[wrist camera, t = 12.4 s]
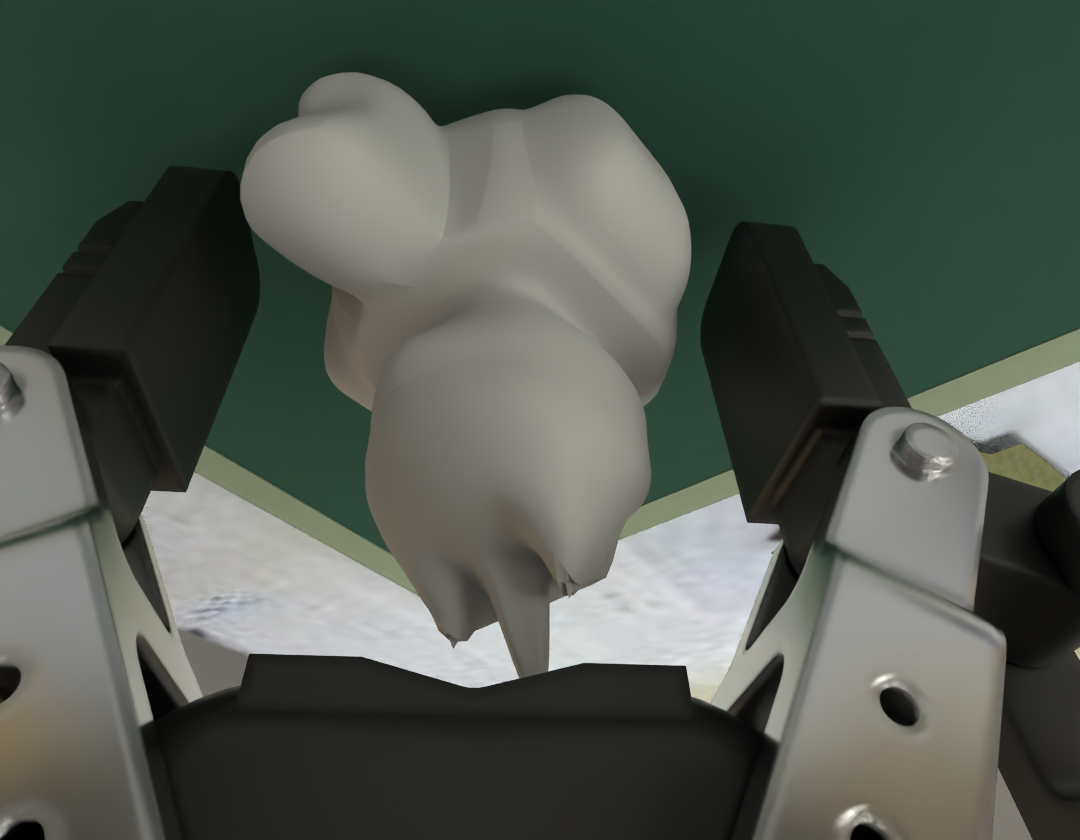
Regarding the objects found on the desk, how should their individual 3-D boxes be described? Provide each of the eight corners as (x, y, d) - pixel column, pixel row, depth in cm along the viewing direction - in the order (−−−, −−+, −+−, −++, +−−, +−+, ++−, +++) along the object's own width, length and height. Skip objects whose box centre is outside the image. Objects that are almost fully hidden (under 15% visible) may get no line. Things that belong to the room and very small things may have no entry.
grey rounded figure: (507, 383, 14) (501, 821, 9) (209, 155, 11) (-106, 675, 5) (742, 229, 12) (931, 715, 6) (459, -145, 8) (346, 274, 3)
